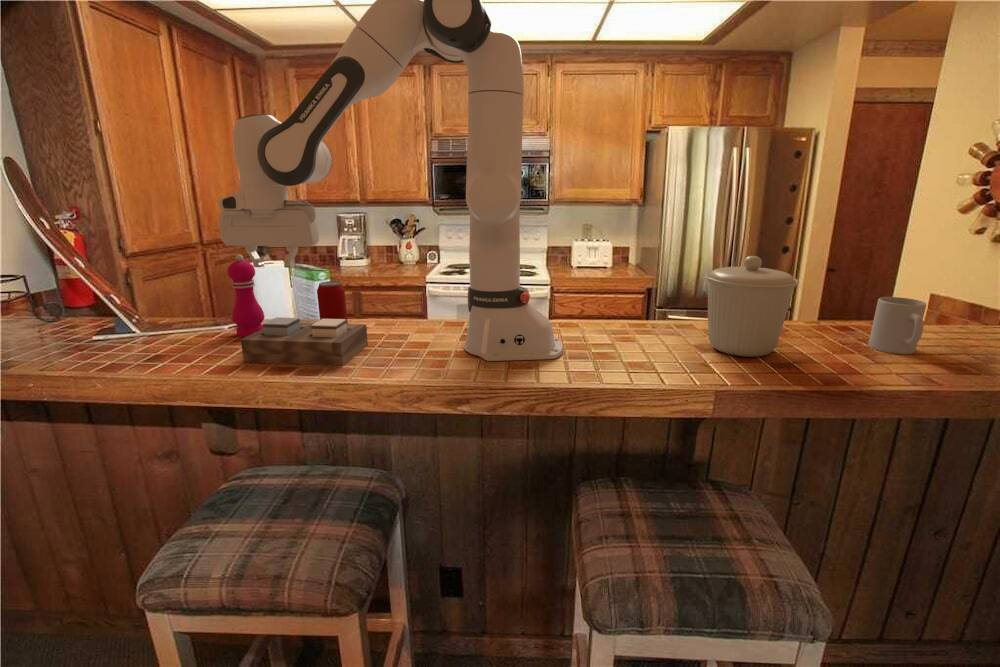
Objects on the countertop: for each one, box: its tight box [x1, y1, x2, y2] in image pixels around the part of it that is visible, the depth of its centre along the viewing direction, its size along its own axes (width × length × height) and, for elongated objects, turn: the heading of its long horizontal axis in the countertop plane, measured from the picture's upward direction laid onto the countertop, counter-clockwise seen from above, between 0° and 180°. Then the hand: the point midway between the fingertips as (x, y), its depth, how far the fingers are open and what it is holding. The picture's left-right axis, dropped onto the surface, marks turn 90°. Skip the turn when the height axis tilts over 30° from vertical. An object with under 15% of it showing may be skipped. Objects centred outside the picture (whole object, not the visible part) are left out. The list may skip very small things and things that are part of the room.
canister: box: [704, 255, 800, 358], centre depth 109 cm, size 18×18×21 cm
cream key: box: [311, 319, 348, 338], centre depth 110 cm, size 6×6×5 cm
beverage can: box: [316, 280, 349, 324], centre depth 130 cm, size 7×7×12 cm
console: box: [240, 322, 369, 367], centre depth 111 cm, size 22×14×5 cm, turn 83°
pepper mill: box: [227, 254, 265, 338], centre depth 124 cm, size 7×7×20 cm
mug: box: [868, 296, 927, 355], centre depth 110 cm, size 12×8×11 cm
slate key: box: [262, 316, 301, 336], centre depth 111 cm, size 6×6×5 cm
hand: (274, 267), depth 107 cm, fingers open, 5 cm apart
